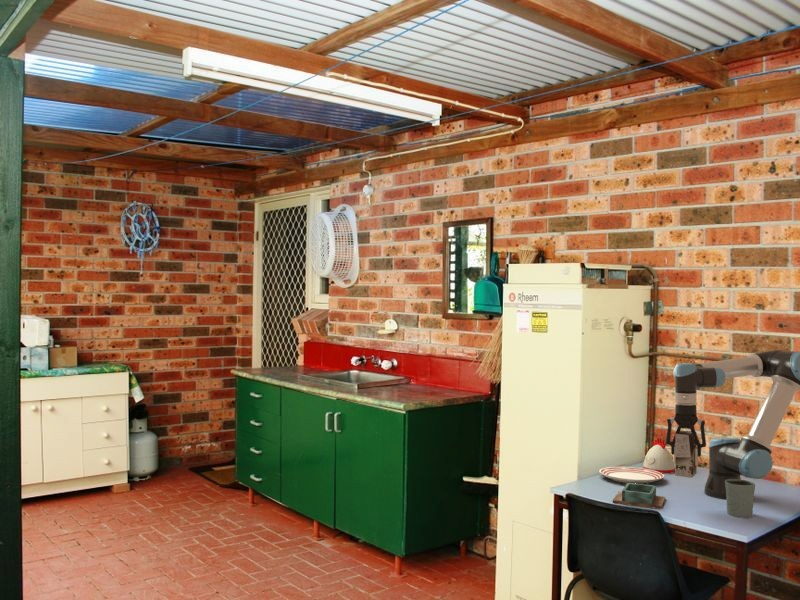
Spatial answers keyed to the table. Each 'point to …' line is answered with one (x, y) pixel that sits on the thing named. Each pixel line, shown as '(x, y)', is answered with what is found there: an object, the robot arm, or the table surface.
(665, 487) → the table surface
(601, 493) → the table surface
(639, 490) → the holder tray
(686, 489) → the table surface
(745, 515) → the grey green cup
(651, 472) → the dinner plate
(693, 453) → the coffee box
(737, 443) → the robot arm
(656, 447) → the kitchen timer
